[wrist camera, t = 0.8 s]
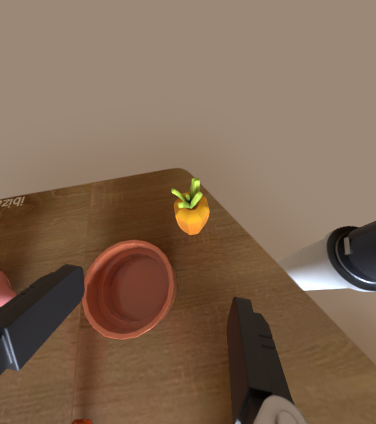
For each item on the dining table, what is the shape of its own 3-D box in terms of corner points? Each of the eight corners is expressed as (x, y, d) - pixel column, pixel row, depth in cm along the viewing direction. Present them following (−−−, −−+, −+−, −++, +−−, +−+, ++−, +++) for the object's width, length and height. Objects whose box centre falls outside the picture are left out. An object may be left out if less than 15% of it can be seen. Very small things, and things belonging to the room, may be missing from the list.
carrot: (188, 249, 32) (183, 216, 19) (174, 227, 34) (160, 183, 21) (211, 235, 33) (222, 193, 20) (196, 214, 35) (196, 163, 22)
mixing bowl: (173, 244, 33) (168, 233, 27) (182, 322, 28) (179, 329, 22) (105, 255, 33) (85, 247, 27) (102, 336, 27) (77, 347, 22)
